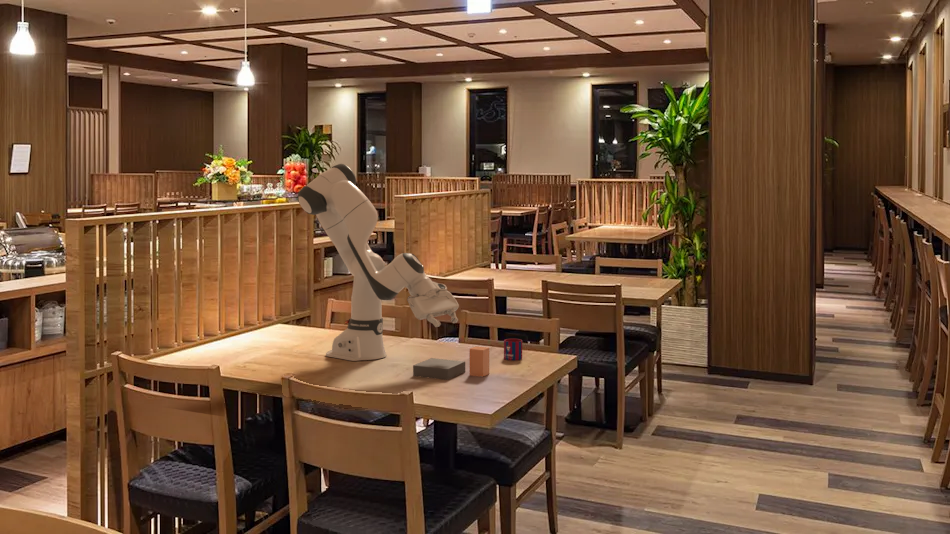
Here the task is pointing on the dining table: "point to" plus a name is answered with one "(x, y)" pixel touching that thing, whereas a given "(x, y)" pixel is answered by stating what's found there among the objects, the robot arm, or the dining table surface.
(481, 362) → the terracotta column
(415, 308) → the robot arm
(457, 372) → the grey flat block
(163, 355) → the dining table surface
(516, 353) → the mug
